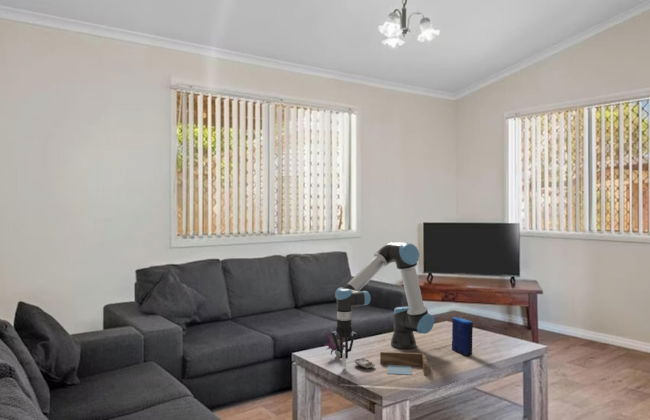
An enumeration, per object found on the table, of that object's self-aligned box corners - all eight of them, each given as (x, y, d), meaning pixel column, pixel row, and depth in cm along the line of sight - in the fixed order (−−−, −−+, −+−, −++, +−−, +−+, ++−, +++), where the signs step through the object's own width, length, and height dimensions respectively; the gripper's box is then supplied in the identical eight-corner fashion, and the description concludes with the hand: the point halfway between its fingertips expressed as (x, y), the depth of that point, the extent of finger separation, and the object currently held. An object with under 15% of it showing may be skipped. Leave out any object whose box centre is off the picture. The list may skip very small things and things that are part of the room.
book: (450, 350, 285) (450, 316, 285) (457, 349, 287) (457, 315, 287) (466, 357, 271) (465, 321, 272) (473, 356, 273) (473, 320, 274)
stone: (351, 364, 257) (351, 357, 257) (365, 362, 261) (365, 356, 261) (363, 370, 246) (363, 363, 246) (378, 368, 251) (378, 361, 251)
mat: (387, 365, 256) (387, 364, 256) (410, 366, 255) (410, 365, 255) (387, 373, 242) (387, 373, 242) (411, 375, 241) (411, 374, 241)
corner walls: (380, 362, 261) (380, 351, 261) (425, 364, 257) (425, 353, 257) (379, 373, 243) (379, 361, 243) (427, 375, 240) (427, 363, 240)
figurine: (350, 357, 271) (350, 330, 271) (347, 361, 263) (347, 333, 263) (327, 355, 275) (327, 328, 275) (323, 359, 267) (323, 332, 267)
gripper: (330, 320, 249) (330, 366, 249) (356, 321, 247) (356, 367, 247) (332, 317, 256) (332, 361, 256) (357, 318, 255) (357, 363, 254)
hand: (344, 364), depth 251 cm, fingers closed
